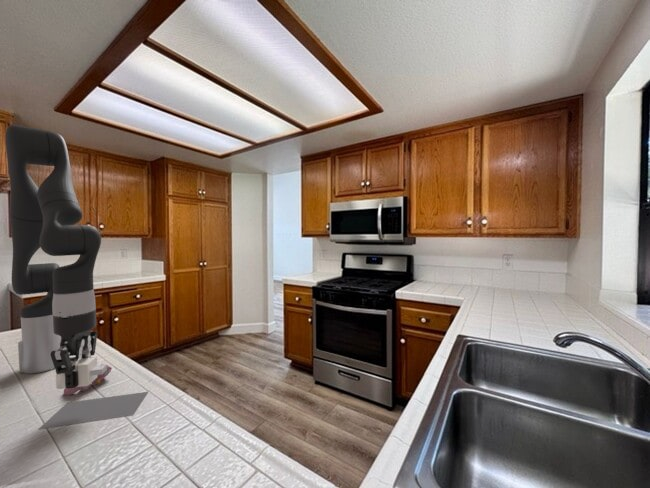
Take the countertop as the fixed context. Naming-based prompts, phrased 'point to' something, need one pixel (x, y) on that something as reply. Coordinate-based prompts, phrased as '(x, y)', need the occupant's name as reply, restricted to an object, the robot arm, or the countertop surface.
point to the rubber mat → (95, 410)
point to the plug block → (83, 372)
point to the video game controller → (97, 380)
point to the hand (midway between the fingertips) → (78, 381)
